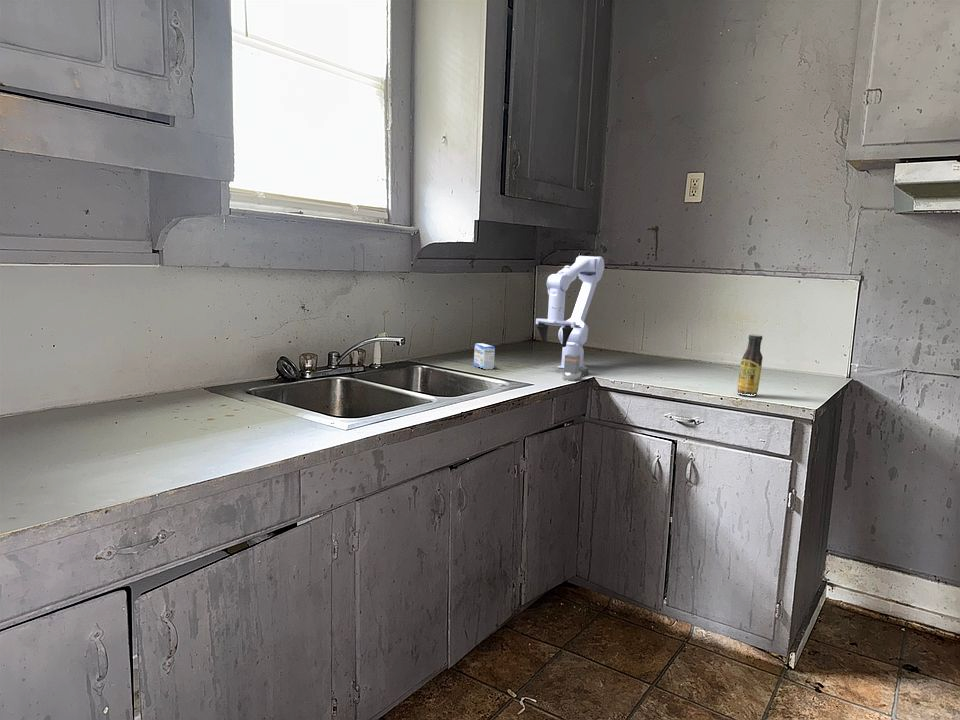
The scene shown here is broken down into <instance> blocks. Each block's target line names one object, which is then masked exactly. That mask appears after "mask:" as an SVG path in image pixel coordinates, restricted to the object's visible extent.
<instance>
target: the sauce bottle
mask: <svg viewBox="0 0 960 720" xmlns="http://www.w3.org/2000/svg"><path fill="white" fill-rule="evenodd" d="M762 341H763V335H762V334H756V333H755V334H754V333H753V334H752V333H750V334H748V342H747V343H748V344H747V348H746V350H745V352H744V353H743V356H742V359H741V362H740V366H739V367H740V368H739V374H738V375H739V376H738V383H737V388H736V389H737V392H738V393H742V394H750V395H751V394H752V395H754V394H758V393H759V386H760V379H761V373H762V366H763V355H762V352H761V344H762ZM738 393H737V394H738Z"/></svg>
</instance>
